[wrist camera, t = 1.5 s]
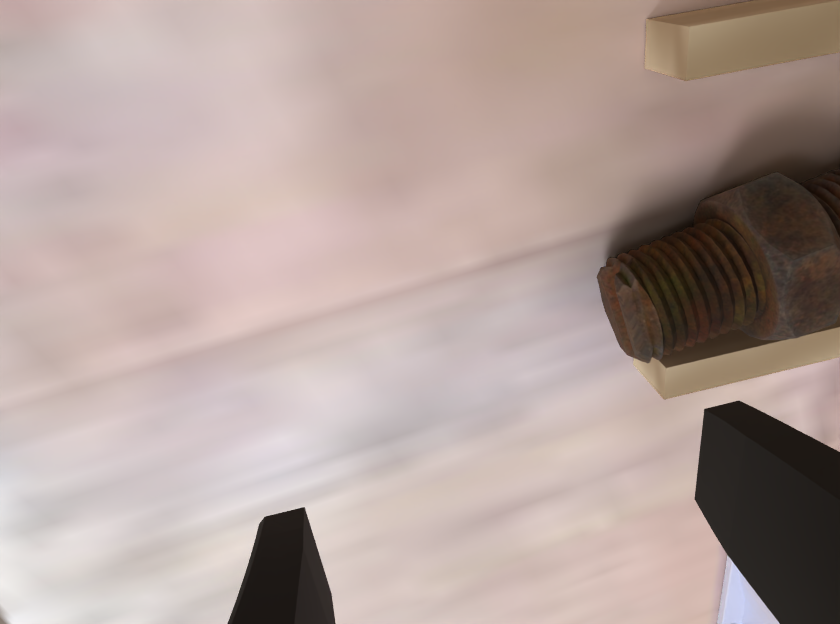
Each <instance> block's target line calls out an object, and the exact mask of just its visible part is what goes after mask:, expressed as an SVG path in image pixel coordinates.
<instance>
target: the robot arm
mask: <svg viewBox="0 0 840 624" xmlns="http://www.w3.org/2000/svg"><path fill="white" fill-rule="evenodd" d="M695 500H696V502H697V504H698V506H699V508H700V509H701V511H702V513H703V515H704V516H705V518H706V520H707V522H708V523H709V525H710V527H711V529H712V530H713V532H714V534H715V535H716V537H717V538H718V540H719V542H720V543H721V545H722V547H723V548H724V550H725V552H726V553H727V562H726V568H725V575H724V582H723V588H722V595H721V601H720V608H719V614H718V621H717V624H840V452H839V451H837V450H835V449H833V448H831V447H829V446H827V445H825V444H823V443H821V442H819V441H817V440H815V439H813V438H812V437H810V436H808V435H806V434H804V433H802V432H800V431H798V430H796V429H794V428H792V427H791V426H789V425H787V424H785V423H783V422H781V421H779V420H777V419H775V418H773V417H771V416H769V415H767V414H765V413H763V412H761V411H759V410H757V409H755V408H753V407H751V406H749V405H747V404H745V403H743V402H741V401H736V402H732V403H727V404H723V405H719V406H715V407H711V408H707V409H704V418H703V427H702V436H701V446H700V455H699V464H698V473H697V482H696V492H695ZM228 624H335V617H334V610H333V602H332V595H331V591H330V588H329V585H328V581H327V578H326V575H325V572H324V568H323V565H322V562H321V559H320V556H319V552H318V549H317V546H316V543H315V540H314V536H313V533H312V530H311V527H310V523H309V520H308V517H307V514H306V511H305V507H303V508H299V509H295V510H291V511H287V512H283V513H278V514H274V515H270V516H266V517H264V519H263V520H262V521H261V522H260V524H259V527H258V531H257V535H256V539H255V543H254V546H253V550H252V553H251V557H250V560H249V563H248V566H247V570H246V573H245V576H244V579H243V582H242V585H241V588H240V591H239V594H238V597H237V600H236V602H235V605H234V608H233V611H232V613H231V616H230V619H229V621H228Z"/></svg>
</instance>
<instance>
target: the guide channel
mask: <svg viewBox="0 0 840 624" xmlns="http://www.w3.org/2000/svg"><path fill="white" fill-rule="evenodd" d="M838 52H840V0H753V1H748V2H742V3H736V4H730V5H725V6H719V7H713V8H708V9H702V10H696V11H691V12H685V13H679V14H674V15H668V16H662V17H656V18H651V19H646V43H645V69H648V70H652V71H655V72H658V73H661V74H665V75H668V76H671V77H674V78H678V79H681V80H684V81H688V80H694V79H699V78H704V77H710V76H715V75H720V74H726V73H731V72H736V71H742V70H747V69H752V68H758V67H763V66H768V65H774V64H779V63H785V62H790V61H795V60H801V59H806V58H811V57H817V56H822V55H827V54H833V53H838ZM838 357H840V313H839V316H838V318H837V321H836V323H835V324H832V325H830V326H827V327H825V328H822V329H819V330H817V331H814V332H812V333H809V334H807V335H804V336H801V337H799V338H794V339H783V340H761V339H758V338H754V337H751V336H749V335H747V334H746V333H744V332H743V331H742V330H740V329H739V328H738V329H736V330H733V329H730V330H729V332H728V333H727V334H719V336H717V337H715V338H713V339H712V338H709V337H708V338H707V339H706V341H705V342H697V341H696V343H695V345H694V346H693V347H687V346H685V347H684V349H683V350H681V351H680V352H679V351H677V350H675V349H674V350H673V352H672V354H671V355H664V354H663V356H662V359H660V360H656V359H654V358H653V357H652V358H651V361H650V363H648V364H647V363H646V362H642V361H640V360H638V359H635V358H634V362H633V365H634V366H635V367H636V368H637V370H638V371H639V372H640V373H641V374H642V375H643V376H644V377H645V379H646V380H647V381H648V382H649V383H650V384H651V385H652V387H653V388H654V389H655V390H656V391H657V392H658V393H659V394H660V396H661V397H662V398H663V399H668V398H673V397H677V396H681V395H685V394H689V393H693V392H697V391H702V390H706V389H710V388H714V387H718V386H722V385H726V384H731V383H735V382H739V381H743V380H747V379H751V378H755V377H760V376H764V375H768V374H772V373H776V372H780V371H784V370H788V369H793V368H797V367H801V366H805V365H809V364H813V363H817V362H822V361H826V360H830V359H834V358H838Z"/></svg>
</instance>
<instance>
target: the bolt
mask: <svg viewBox="0 0 840 624" xmlns="http://www.w3.org/2000/svg"><path fill="white" fill-rule="evenodd" d="M597 279H598V283H599V287H600V292H601V297H602V301H603V305H604V308H605V312H606V314H607V316H608V319H609V321H610V324H611V326H612V328H613V331H614V333H615V336H616V338H617V341H618V343H619V345H620V347H621V348H622V349H623V351H624V352H625V353H626V354H627V355H628V356H631V357H633V358H635V359H638V360H640V361H642V362H646V363H647V364H648V363H650V361H651V358H652V357H653V358H654V359H656V360H660V359H662V356H663V354H664V355H671V354H672V352H673V350H674V349H675V350H677V351H679V352H680V351H681V350H683V349H684V347H685V346H687V347H693V346H694V345H695V343H696V341H697V342H705V341H706V339H707V338H708V337H709V338H712V339H713V338H715V337H717V336H719V334H727V333H728V332H729V330H730V329H733V330H736V329H738V328H739V329H740V330H742V331H743V332H744V333H746V334H747V335H749V336H751V337H754V338H758V339H761V340H783V339H794V338H799V337H801V336H804V335H807V334H809V333H812V332H814V331H817V330H819V329H822V328H825V327H827V326H830V325H832V324H835V323H836V321H837V318H838V316H839V313H840V169H838V170H834V171H830V172H828V173H827V174H823V175H820V176H818V177H816V178H814V179H809V180H807V181H805V182H804V183H799V184H798V183H797V182H795V181H794V180H792V179H790V178H788V177H786V176H784V175H782V174H780V173H778V172H775V173H772V174H769V175H767V176H764V177H761V178H758V179H755V180H753V181H750V182H747V183H745V184H742V185H740V186H737V187H735V188H732V189H729V190H727V191H724V192H722V193H719V194H717V195H714V196H712V197H709V198H706V199H704V200H701V201H700V203H699V206H698V208H697V210H696V213H695V215H694V227H693V228H692V227H688V228H686V229H684V230H683V231H682V232H676V233H674V234H672V235H671V236H665V237H663V238H662V239H661V240H656V241H652V242H651V244H650V245H641V247H640V248H639V249H638V250H630V251H629V252H628V254H626V253H621V254H619V255H618V257H617V259H616V258H611V257H610V258H609V259H608V260H607V263H606V267H601V268H600V271H599V273H598V275H597Z"/></svg>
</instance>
